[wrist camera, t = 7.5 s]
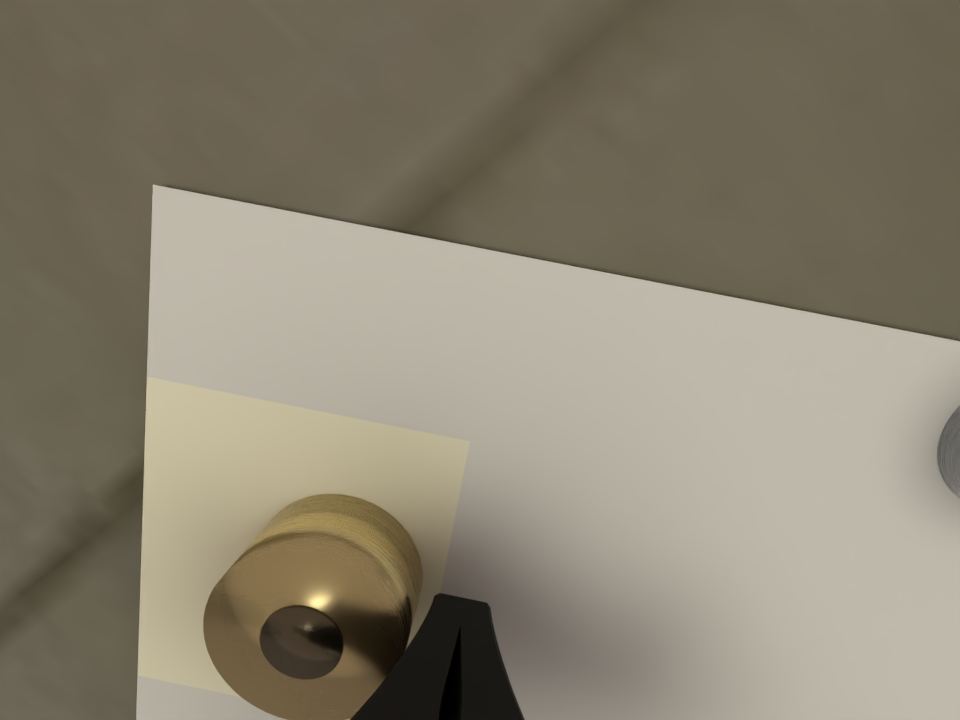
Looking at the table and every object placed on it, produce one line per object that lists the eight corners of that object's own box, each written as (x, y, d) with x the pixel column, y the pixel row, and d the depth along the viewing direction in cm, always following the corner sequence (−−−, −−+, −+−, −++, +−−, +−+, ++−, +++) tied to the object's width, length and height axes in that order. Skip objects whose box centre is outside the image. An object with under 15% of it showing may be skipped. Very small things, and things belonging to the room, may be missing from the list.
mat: (1006, 1013, 16) (1019, 1033, 16) (141, 827, 16) (132, 841, 16) (1396, 426, 11) (1428, 432, 11) (164, 186, 12) (153, 184, 11)
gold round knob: (392, 663, 14) (367, 753, 11) (239, 608, 14) (181, 688, 11) (446, 529, 13) (430, 597, 10) (280, 469, 13) (226, 523, 10)
